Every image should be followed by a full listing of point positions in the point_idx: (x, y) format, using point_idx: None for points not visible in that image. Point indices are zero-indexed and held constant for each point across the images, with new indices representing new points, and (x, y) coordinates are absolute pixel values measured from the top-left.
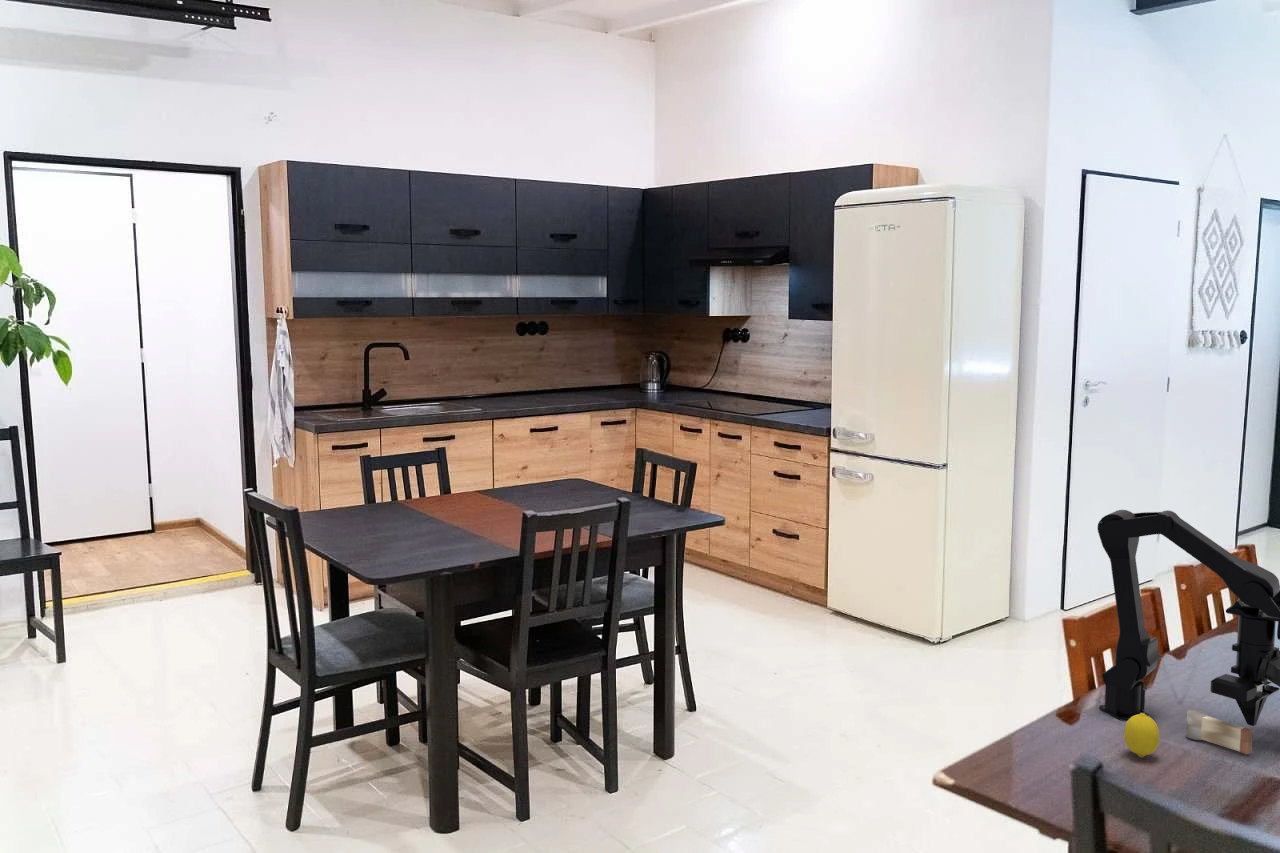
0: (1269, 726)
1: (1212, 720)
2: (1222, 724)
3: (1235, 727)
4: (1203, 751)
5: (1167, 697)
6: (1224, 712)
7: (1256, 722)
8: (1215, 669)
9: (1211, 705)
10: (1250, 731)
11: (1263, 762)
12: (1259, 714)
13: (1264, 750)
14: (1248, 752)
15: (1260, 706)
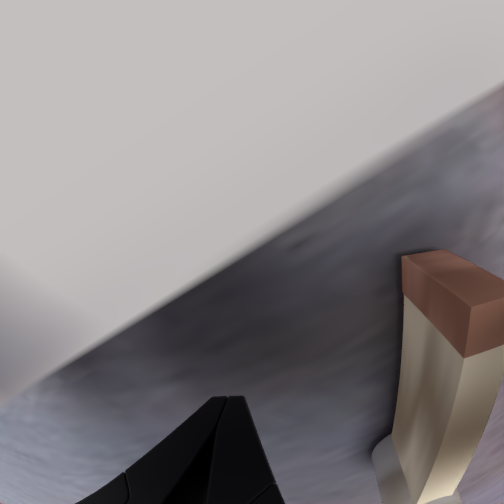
0: (46, 376)
1: (460, 471)
2: (480, 431)
3: (494, 379)
4: None
5: None
6: (105, 477)
7: (209, 405)
8: (13, 493)
9: None
10: (490, 298)
11: (423, 166)
12: (174, 440)
13: (273, 257)
14: (431, 253)
15: (164, 499)
